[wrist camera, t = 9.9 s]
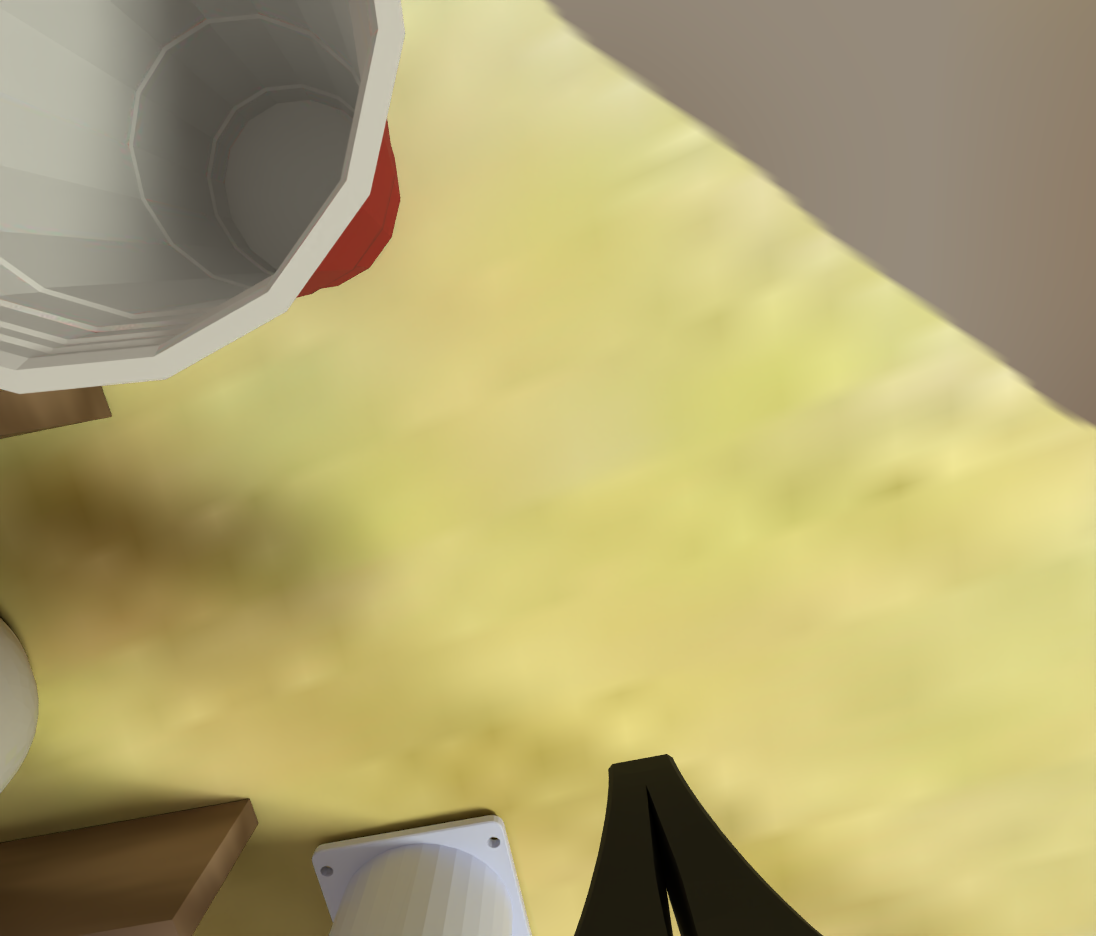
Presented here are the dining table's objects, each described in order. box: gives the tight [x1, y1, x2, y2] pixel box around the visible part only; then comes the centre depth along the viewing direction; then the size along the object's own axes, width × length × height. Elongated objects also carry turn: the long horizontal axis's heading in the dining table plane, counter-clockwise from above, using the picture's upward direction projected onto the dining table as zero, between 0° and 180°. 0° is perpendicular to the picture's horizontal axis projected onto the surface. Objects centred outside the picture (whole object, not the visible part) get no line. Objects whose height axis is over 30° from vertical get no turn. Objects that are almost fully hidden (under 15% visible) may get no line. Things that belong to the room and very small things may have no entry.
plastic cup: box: [0, 0, 405, 394], centre depth 13 cm, size 11×11×12 cm
